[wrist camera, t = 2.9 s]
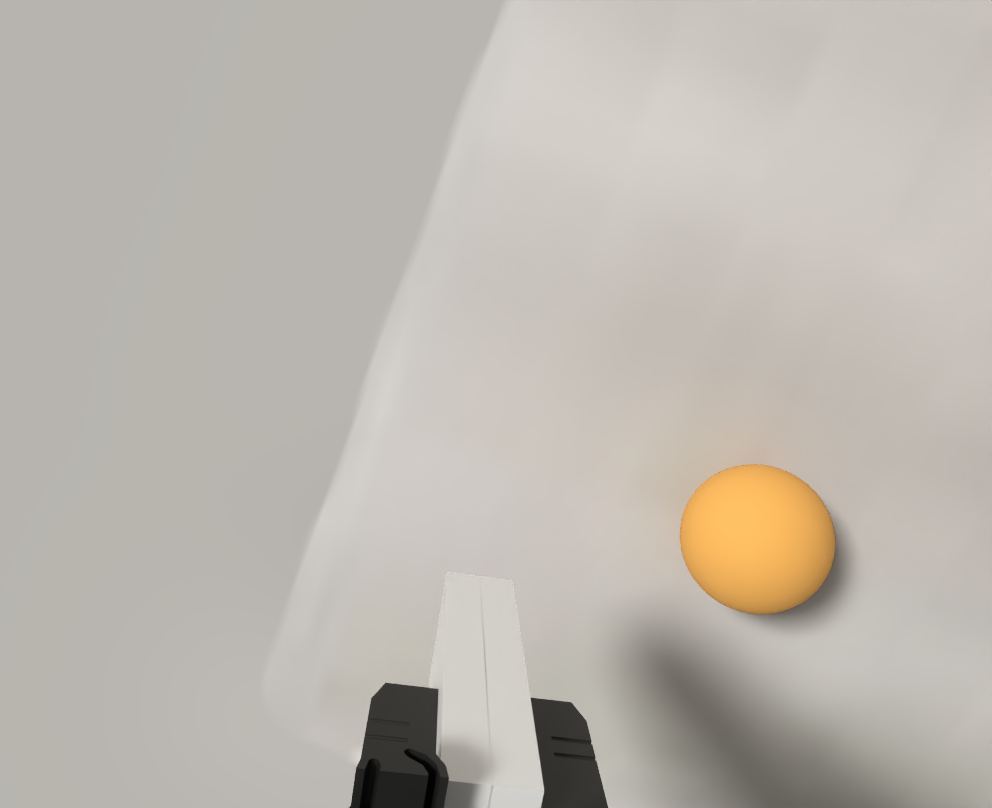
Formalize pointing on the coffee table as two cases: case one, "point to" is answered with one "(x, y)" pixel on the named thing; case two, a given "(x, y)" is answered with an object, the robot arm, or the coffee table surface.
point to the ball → (757, 539)
